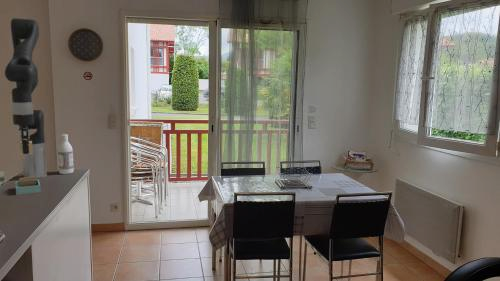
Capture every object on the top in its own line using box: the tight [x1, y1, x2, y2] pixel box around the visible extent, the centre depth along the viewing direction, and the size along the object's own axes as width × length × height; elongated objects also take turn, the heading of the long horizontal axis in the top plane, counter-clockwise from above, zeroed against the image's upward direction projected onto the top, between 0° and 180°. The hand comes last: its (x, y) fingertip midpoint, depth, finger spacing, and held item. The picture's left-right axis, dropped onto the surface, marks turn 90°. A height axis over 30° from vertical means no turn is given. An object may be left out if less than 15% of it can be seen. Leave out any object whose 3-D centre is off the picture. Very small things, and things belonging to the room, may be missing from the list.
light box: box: [17, 140, 33, 156], centre depth 164 cm, size 5×5×5 cm
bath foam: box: [57, 133, 75, 175], centre depth 198 cm, size 7×7×20 cm
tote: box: [14, 178, 42, 196], centre depth 167 cm, size 11×9×4 cm
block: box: [18, 176, 37, 187], centre depth 166 cm, size 6×6×5 cm
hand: (25, 152), depth 164 cm, fingers closed on light box, 5 cm apart
